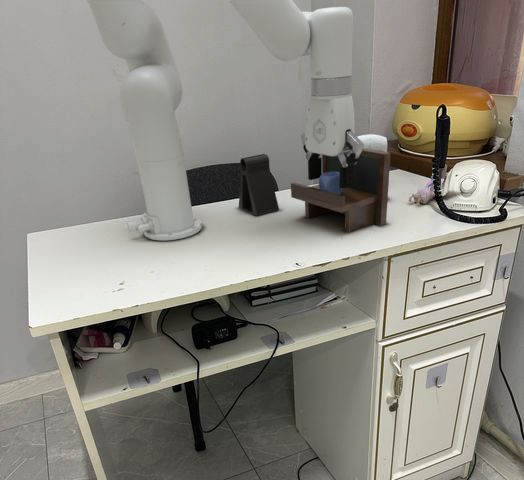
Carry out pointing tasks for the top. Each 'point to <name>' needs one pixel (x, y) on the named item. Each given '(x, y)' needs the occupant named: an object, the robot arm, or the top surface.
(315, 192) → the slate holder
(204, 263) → the top surface
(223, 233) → the top surface
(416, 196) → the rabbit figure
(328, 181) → the decorative dice
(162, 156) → the robot arm
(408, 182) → the top surface
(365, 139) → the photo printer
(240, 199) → the phone stand
